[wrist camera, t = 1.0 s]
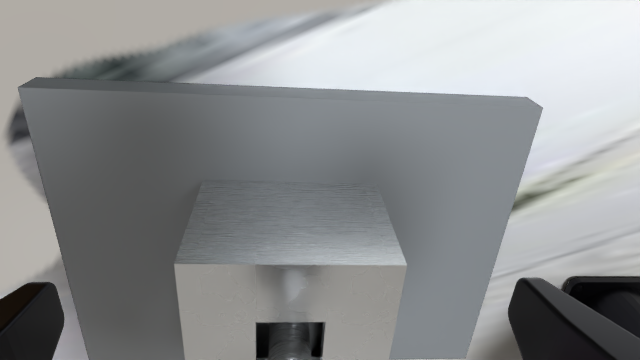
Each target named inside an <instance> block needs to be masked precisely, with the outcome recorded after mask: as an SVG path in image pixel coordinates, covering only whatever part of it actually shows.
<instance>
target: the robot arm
mask: <svg viewBox="0 0 640 360" xmlns="http://www.w3.org/2000/svg"><path fill="white" fill-rule="evenodd" d="M508 317H509V321H510V324H511V327H512V330H513V333H514V335H515V338H516V341H517V344H518V347H519V350H520V353H521V356H522V358H523V360H640V278H574V279H572V280H571V281H569V283H568V284H567V287H566V289H565V291H564V292H563V291H561V290H560V289H558V288H556V287H555V286H553V285H552V284H550V283H548V282H547V281H545V280H543V279H541V278H521V279H519V280H518V281H517V283H516V286H515V289H514V292H513V295H512V298H511V301H510V304H509V308H508ZM63 326H64V312H63V309H62V306H61V302H60V299H59V296H58V292H57V289H56V287H55V285H54V284H53V283H50V282H31V283H27V284H25V285H23V286H22V287H20V288H18V289H17V290H15V291H13V292H12V293H10V294H8V295H7V296H5V297H4V298H2V299H0V360H52V358H53V355H54V352H55V349H56V347H57V344H58V341H59V338H60V335H61V332H62V330H63Z"/></svg>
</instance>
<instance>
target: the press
mask: <svg viewBox="0 0 640 360" xmlns="http://www.w3.org/2000/svg"><path fill="white" fill-rule="evenodd" d="M174 269H175V277H176V286H177V294H178V303H179V312H180V320H181V329H182V338H183V346H184V355H185V360H268V359H269V358H257V322H323V332H322V343H321V354H320V357H311V360H389V356H390V351H391V346H392V341H393V336H394V331H395V326H396V320H397V315H398V310H399V305H400V300H401V295H402V289H403V284H404V279H405V274H406V269H407V263H406V261H405V258H404V256H403V253H402V250H401V248H400V245H399V242H398V240H397V237H396V234H395V232H394V229H393V226H392V224H391V221H390V218H389V216H388V213H387V210H386V208H385V205H384V202H383V200H382V197H381V195H380V192H379V189H378V187H377V184H370V183H324V182H278V181H232V180H203V182H202V184H201V187H200V190H199V193H198V196H197V199H196V202H195V205H194V208H193V210H192V213H191V216H190V219H189V222H188V225H187V228H186V231H185V234H184V237H183V239H182V242H181V245H180V248H179V251H178V254H177V257H176V260H175V263H174Z"/></svg>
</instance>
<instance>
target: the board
mask: <svg viewBox="0 0 640 360" xmlns="http://www.w3.org/2000/svg"><path fill="white" fill-rule="evenodd" d="M18 91H19V95H20V98H21V102H22V106H23V110H24V114H25V117H26V121H27V125H28V129H29V133H30V137H31V140H32V144H33V148H34V152H35V156H36V159H37V163H38V167H39V171H40V175H41V178H42V182H43V186H44V190H45V194H46V198H47V201H48V205H49V209H50V213H51V217H52V220H53V224H54V228H55V232H56V236H57V239H58V243H59V247H60V251H61V255H62V259H63V262H64V266H65V270H66V274H67V278H68V281H69V285H70V289H71V293H72V297H73V300H74V304H75V308H76V312H77V316H78V320H79V323H80V327H81V331H82V335H83V339H84V342H85V346H86V350H87V354H88V358H89V360H185V355H184V346H183V338H182V329H181V320H180V312H179V303H178V294H177V286H176V277H175V269H174V263H175V260H176V257H177V254H178V251H179V248H180V245H181V242H182V239H183V237H184V234H185V231H186V228H187V225H188V222H189V219H190V216H191V213H192V210H193V208H194V205H195V202H196V199H197V196H198V193H199V190H200V187H201V184H202V182H203V180H232V181H278V182H324V183H370V184H377V187H378V189H379V192H380V195H381V197H382V200H383V202H384V205H385V208H386V210H387V213H388V216H389V218H390V221H391V224H392V226H393V229H394V232H395V234H396V237H397V240H398V242H399V245H400V248H401V250H402V253H403V256H404V258H405V261H406V263H407V269H406V274H405V279H404V284H403V289H402V295H401V300H400V305H399V310H398V315H397V320H396V326H395V331H394V336H393V341H392V346H391V351H390V356H389V360H394V359H463V358H466V355H467V351H468V348H469V345H470V342H471V339H472V335H473V332H474V329H475V326H476V322H477V319H478V316H479V313H480V310H481V306H482V303H483V300H484V297H485V293H486V290H487V287H488V284H489V281H490V277H491V274H492V271H493V268H494V264H495V261H496V258H497V255H498V251H499V248H500V245H501V242H502V239H503V235H504V232H505V229H506V226H507V222H508V219H509V216H510V213H511V210H512V206H513V203H514V200H515V197H516V193H517V190H518V187H519V184H520V180H521V177H522V174H523V171H524V168H525V164H526V161H527V158H528V155H529V151H530V148H531V145H532V142H533V139H534V135H535V132H536V129H537V126H538V122H539V119H540V116H541V113H542V109H543V107H541V106H540V105H538V104H537V103H535V102H533V101H532V100H530V99H529V98H527V97H508V96H484V95H459V94H435V93H410V92H386V91H361V90H336V89H312V88H287V87H263V86H238V85H214V84H189V83H165V82H140V81H116V80H91V79H66V78H42V77H36V78H34V79H32V80H30V81H29V82H27V83H25V84H23V85H21V86H19V87H18Z"/></svg>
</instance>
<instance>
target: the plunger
mask: <svg viewBox="0 0 640 360" xmlns="http://www.w3.org/2000/svg"><path fill="white" fill-rule="evenodd" d="M322 332H323V322H257V358H269V359H268V360H311V357H320V354H321V343H322Z"/></svg>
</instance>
